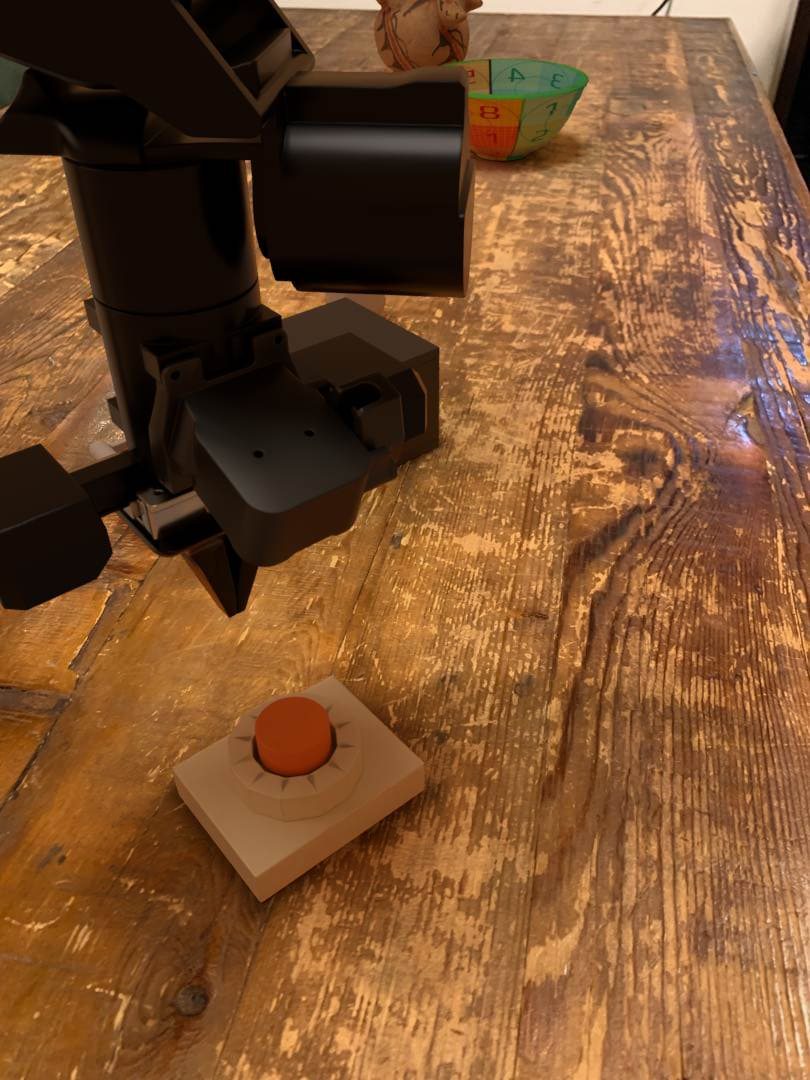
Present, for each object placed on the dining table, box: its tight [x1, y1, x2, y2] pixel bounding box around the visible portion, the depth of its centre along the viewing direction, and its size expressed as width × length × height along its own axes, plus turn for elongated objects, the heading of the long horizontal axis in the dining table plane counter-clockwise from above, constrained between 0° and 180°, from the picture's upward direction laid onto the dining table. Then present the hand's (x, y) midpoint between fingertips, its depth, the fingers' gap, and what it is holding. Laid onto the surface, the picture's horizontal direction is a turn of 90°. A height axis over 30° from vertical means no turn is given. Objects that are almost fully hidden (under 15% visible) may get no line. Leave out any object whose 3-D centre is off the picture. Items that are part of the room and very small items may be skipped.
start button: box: [255, 697, 332, 776], centre depth 46 cm, size 4×4×2 cm
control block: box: [171, 674, 425, 903], centre depth 48 cm, size 10×8×4 cm
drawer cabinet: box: [282, 297, 441, 467], centre depth 72 cm, size 14×12×9 cm
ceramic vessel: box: [373, 0, 484, 72], centre depth 156 cm, size 18×19×25 cm
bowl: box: [443, 57, 590, 162], centre depth 130 cm, size 22×22×10 cm
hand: (231, 609), depth 43 cm, fingers closed
